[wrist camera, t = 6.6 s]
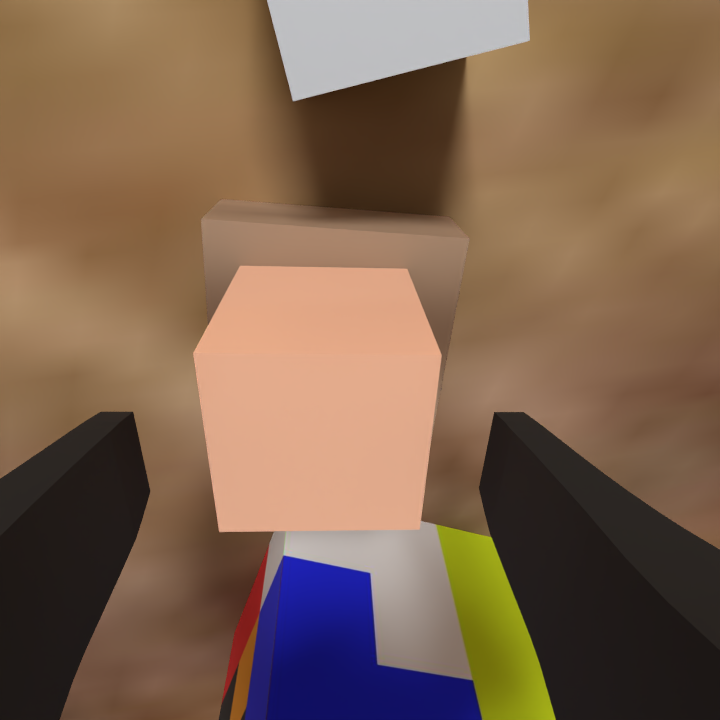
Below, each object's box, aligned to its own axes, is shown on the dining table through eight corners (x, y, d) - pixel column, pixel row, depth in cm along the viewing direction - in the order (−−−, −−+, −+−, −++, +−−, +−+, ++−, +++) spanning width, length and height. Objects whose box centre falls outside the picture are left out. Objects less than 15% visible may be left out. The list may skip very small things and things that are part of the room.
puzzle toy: (290, 489, 21) (258, 785, 12) (502, 538, 23) (608, 822, 14) (234, 632, 25) (181, 925, 16) (416, 662, 27) (456, 937, 18)
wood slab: (416, 397, 19) (429, 447, 17) (232, 389, 19) (215, 438, 16) (447, 213, 16) (469, 238, 13) (223, 196, 15) (200, 218, 13)
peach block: (396, 406, 16) (419, 529, 11) (252, 406, 15) (219, 531, 11) (407, 268, 14) (441, 355, 9) (239, 265, 13) (193, 353, 9)
